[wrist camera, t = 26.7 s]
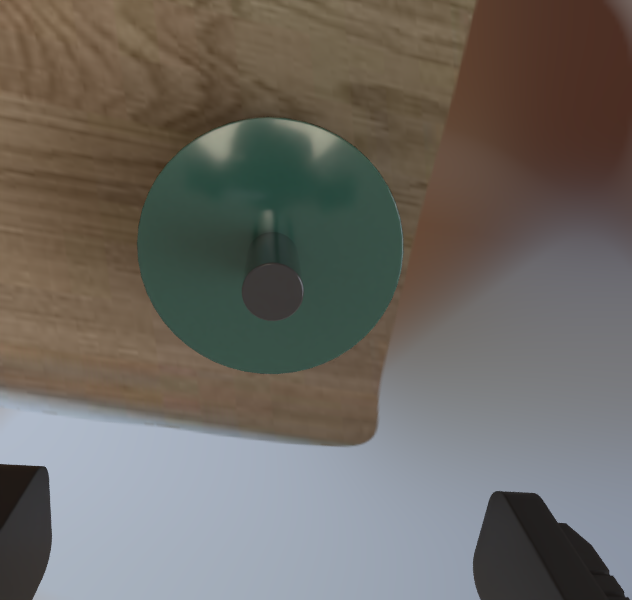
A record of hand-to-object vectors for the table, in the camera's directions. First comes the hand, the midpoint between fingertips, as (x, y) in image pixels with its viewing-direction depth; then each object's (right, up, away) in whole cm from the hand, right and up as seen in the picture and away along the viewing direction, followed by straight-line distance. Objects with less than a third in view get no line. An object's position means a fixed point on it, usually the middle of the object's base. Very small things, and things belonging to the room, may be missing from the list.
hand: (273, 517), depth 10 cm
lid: (-1, +6, +16) cm, 18 cm away
